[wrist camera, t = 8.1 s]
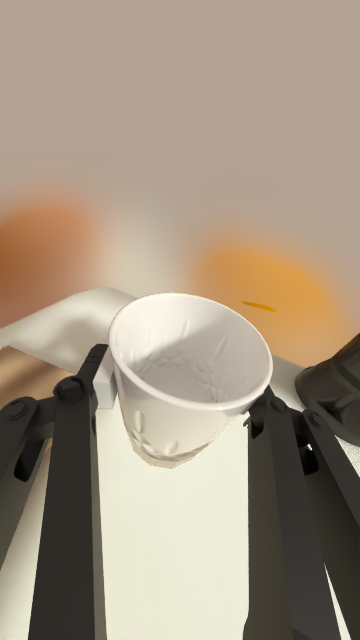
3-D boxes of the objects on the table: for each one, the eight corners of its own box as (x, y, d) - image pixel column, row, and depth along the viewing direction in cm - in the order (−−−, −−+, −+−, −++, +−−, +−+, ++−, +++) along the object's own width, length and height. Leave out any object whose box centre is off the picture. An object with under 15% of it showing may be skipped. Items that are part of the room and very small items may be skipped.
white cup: (95, 431, 12) (64, 332, 6) (157, 365, 18) (170, 282, 12) (185, 515, 10) (265, 475, 4) (222, 406, 16) (276, 326, 10)
